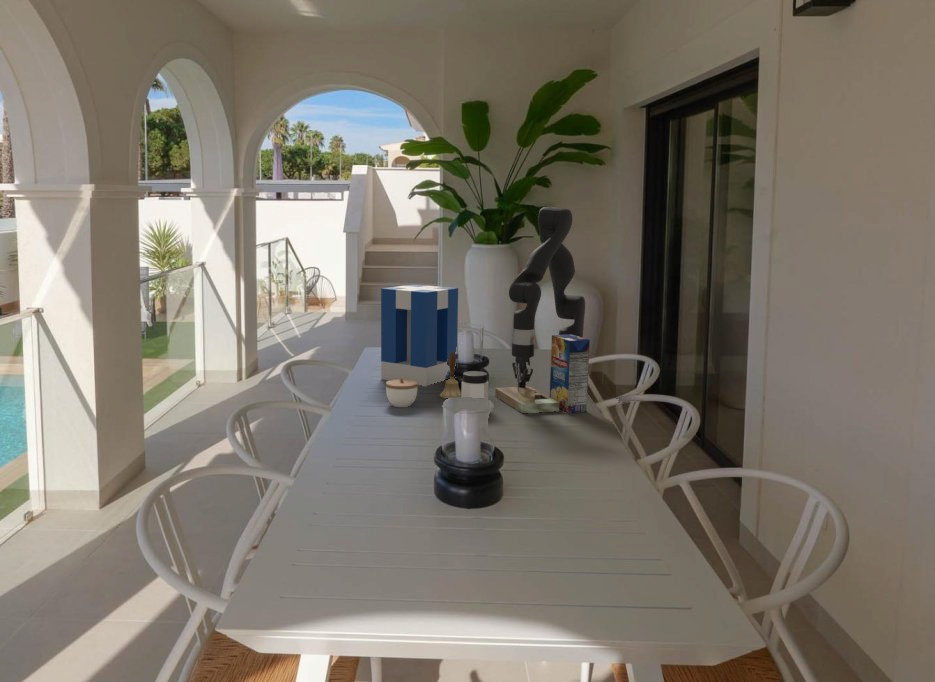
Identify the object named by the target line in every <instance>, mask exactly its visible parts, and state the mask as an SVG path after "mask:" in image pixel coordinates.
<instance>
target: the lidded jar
mask: <svg viewBox="0 0 935 682" xmlns="http://www.w3.org/2000/svg"><path fill="white" fill-rule="evenodd" d="M418 386H419V385H418V382H416V381H414V380H407V379H403V378H400V379H397V380H386V382H385V392H386V398H387V399H388V401H389V403H390V404H391V405H392V406H393V407H395V408H409V407H411V405H412V404H413V403H414V402H415V401H416V398H417V395H418ZM408 406H409V407H408Z"/></svg>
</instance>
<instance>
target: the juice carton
mask: <svg viewBox="0 0 935 682" xmlns="http://www.w3.org/2000/svg"><path fill="white" fill-rule="evenodd" d="M590 342H591V340H590V339H589V338H585V337H583V338H582V337H579V336H575V335H572V334H567V335H559V334H552V335H551V348H550V379H549V397H550V398H552V399H554V400H556V401H558V402H559V411H561V412H563V411H564V412H563V413H565V412H566V413H565V414H573V413H572V412H575V413H582V412H581V411H586V412H587V411H588V409H587V408H588V387H589V385H588V384H589V364H590V363H589V361H590Z"/></svg>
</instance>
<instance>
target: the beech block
mask: <svg viewBox="0 0 935 682" xmlns="http://www.w3.org/2000/svg"><path fill="white" fill-rule="evenodd" d="M530 387H531V386H530ZM530 387H525V388H519V399H518V400H520V401H522V402H535V390H534V389H535V388H534V389H532V388H533V387H532V388H530Z"/></svg>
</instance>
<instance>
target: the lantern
mask: <svg viewBox="0 0 935 682" xmlns="http://www.w3.org/2000/svg"><path fill="white" fill-rule="evenodd" d="M380 290H381V291H380V305H381V306H380V309H381V310H380V315H381V316H380V324H381V325H380V332H381V333H380V339H381V341H380V346H381V347H380V379H381V380H383V381H390V380H397V379H400V378H403V379H407V380H414V381H416V382H418V386H420V385H422V386H421V387H428V386H427V385H429V386H431V385H430V384H432V385H435V384H438V383H437V382H439V383H441V381H442V382H445V381H446V380H445V376H446V373H447V372H448V370H449V369H450V367H449V366H448V365H447V362H446V361H447V359H448V358H449V356H450V354H451V352H456V347H457V348H458V328H459V327H458V326H459V325H458V321H459V320H458V319H459V317H458V316H459V315H458V314H459V288H458V287H449V286H436V285H425V284H424V285H423V284H407V285H398V286H392V287H390V286H389V287H382V288H380ZM444 380H445V381H444ZM434 383H435V384H434Z"/></svg>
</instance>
